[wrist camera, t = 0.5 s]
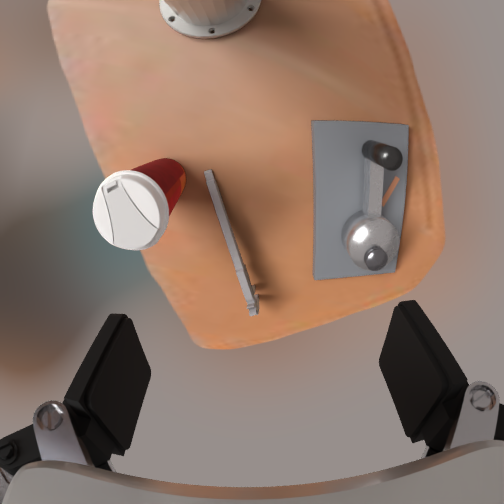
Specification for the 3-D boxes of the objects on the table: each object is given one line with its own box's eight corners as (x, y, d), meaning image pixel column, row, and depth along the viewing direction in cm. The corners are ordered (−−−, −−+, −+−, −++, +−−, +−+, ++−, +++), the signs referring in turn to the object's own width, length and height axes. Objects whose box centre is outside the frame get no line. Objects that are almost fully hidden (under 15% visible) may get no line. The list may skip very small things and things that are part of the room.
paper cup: (130, 163, 35) (76, 193, 23) (182, 141, 34) (144, 159, 22) (152, 214, 39) (111, 265, 26) (203, 196, 37) (179, 243, 25)
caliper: (259, 295, 45) (260, 321, 39) (252, 297, 45) (252, 323, 40) (211, 168, 36) (204, 179, 30) (203, 171, 36) (195, 182, 31)
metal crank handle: (342, 138, 32) (362, 145, 26) (393, 140, 32) (419, 148, 26) (339, 257, 40) (353, 284, 34) (384, 254, 39) (403, 278, 33)
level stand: (311, 120, 33) (313, 120, 32) (403, 124, 32) (408, 125, 31) (312, 274, 43) (314, 280, 42) (391, 267, 43) (395, 272, 41)
